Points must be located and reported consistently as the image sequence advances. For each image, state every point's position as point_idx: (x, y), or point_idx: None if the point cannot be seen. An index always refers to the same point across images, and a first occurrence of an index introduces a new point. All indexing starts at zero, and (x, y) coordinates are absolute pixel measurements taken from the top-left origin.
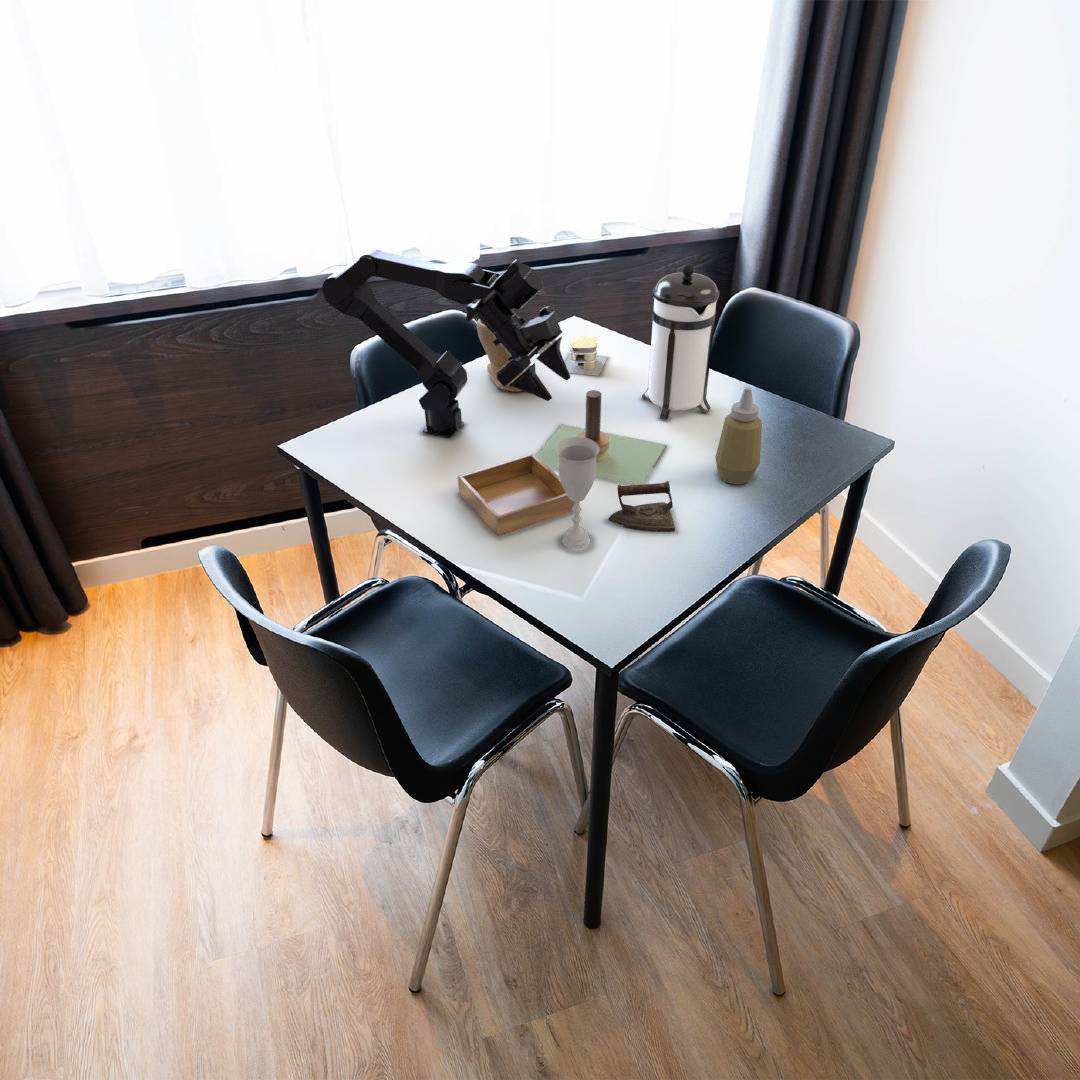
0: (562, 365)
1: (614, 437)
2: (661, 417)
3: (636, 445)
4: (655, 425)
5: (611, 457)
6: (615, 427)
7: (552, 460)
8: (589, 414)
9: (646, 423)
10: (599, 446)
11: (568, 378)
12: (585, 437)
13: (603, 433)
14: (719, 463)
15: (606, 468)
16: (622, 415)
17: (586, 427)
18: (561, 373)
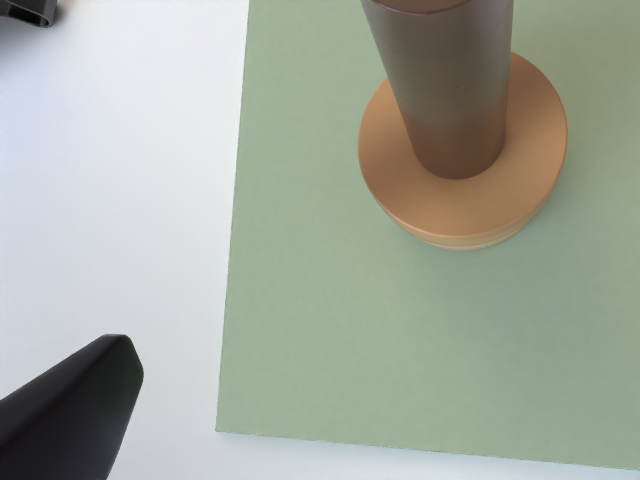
0: (9, 449)
1: (263, 133)
2: (51, 13)
3: (302, 17)
4: (104, 26)
5: None
6: (162, 173)
7: (610, 351)
8: (509, 51)
9: (97, 65)
10: (533, 65)
11: (131, 352)
12: (483, 167)
13: (377, 102)
14: None
15: (567, 55)
16: (55, 183)
17: (494, 130)
18: (92, 445)
